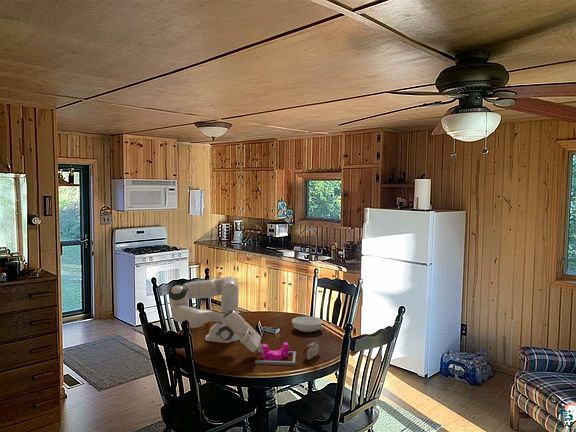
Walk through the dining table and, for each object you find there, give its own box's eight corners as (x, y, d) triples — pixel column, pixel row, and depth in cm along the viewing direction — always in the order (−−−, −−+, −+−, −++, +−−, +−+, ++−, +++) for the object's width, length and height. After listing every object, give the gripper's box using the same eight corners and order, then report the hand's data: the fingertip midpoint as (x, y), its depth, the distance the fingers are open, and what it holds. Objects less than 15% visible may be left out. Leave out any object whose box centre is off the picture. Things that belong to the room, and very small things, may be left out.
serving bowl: (320, 336, 289) (320, 326, 288) (289, 333, 293) (289, 323, 292) (323, 326, 309) (324, 317, 309) (294, 324, 313) (295, 315, 313)
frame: (254, 363, 240) (254, 361, 240) (258, 352, 257) (258, 350, 257) (294, 365, 239) (294, 362, 239) (296, 353, 256) (296, 351, 256)
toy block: (264, 361, 244) (264, 348, 244) (261, 357, 250) (261, 344, 250) (289, 358, 249) (289, 345, 248) (286, 354, 255) (286, 342, 254)
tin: (315, 353, 258) (316, 339, 257) (320, 354, 256) (320, 340, 256) (302, 361, 245) (302, 346, 245) (306, 362, 244) (307, 347, 243)
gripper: (245, 331, 259) (261, 348, 259) (239, 343, 238) (257, 361, 238) (252, 324, 258) (269, 340, 258) (247, 335, 238) (265, 353, 238)
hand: (263, 350), depth 248 cm, fingers closed
